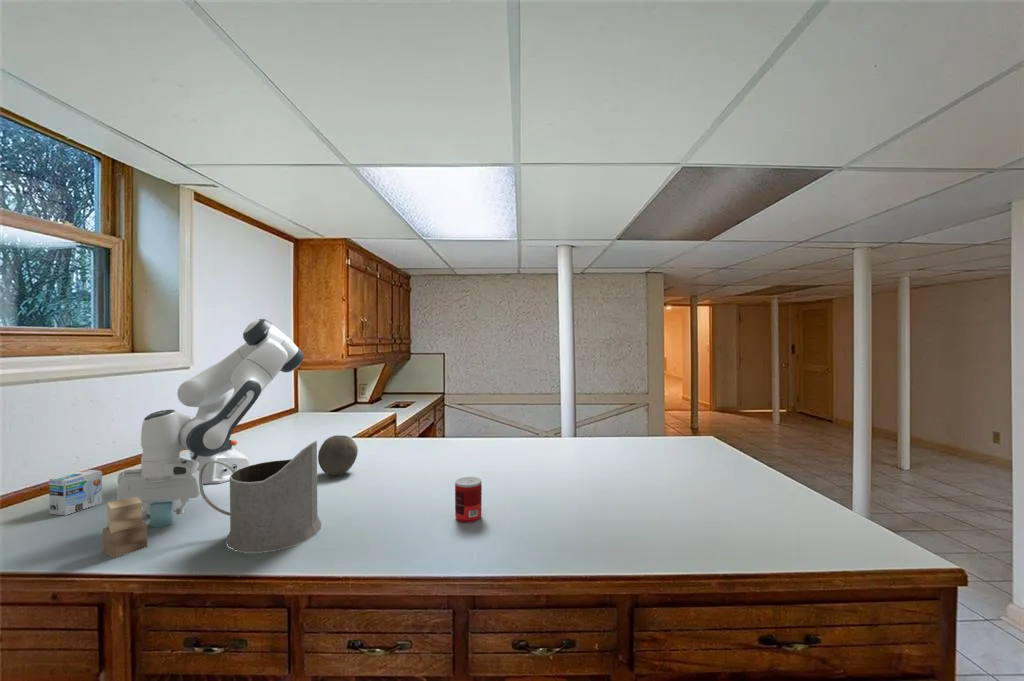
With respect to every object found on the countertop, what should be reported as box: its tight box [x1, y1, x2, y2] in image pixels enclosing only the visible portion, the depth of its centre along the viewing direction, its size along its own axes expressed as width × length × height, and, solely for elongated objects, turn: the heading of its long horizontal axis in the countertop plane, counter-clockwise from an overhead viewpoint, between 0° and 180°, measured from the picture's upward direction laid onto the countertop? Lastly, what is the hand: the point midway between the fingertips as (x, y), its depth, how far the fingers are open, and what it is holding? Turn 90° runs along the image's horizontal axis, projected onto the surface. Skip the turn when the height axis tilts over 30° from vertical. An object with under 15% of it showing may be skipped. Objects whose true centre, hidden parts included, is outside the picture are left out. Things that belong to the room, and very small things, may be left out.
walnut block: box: [102, 521, 148, 558], centre depth 116 cm, size 6×6×6 cm
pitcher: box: [199, 440, 323, 554], centre depth 126 cm, size 23×32×25 cm
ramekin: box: [142, 499, 183, 516], centre depth 143 cm, size 11×11×5 cm
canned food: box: [454, 476, 483, 524], centre depth 136 cm, size 8×8×11 cm
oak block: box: [107, 497, 143, 533], centre depth 116 cm, size 6×6×6 cm
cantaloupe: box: [317, 435, 359, 477], centre depth 179 cm, size 14×14×15 cm
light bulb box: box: [48, 469, 103, 516], centre depth 144 cm, size 11×7×11 cm, turn 168°
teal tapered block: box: [149, 500, 174, 528], centre depth 132 cm, size 5×5×6 cm
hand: (161, 515), depth 132 cm, fingers open, 8 cm apart
